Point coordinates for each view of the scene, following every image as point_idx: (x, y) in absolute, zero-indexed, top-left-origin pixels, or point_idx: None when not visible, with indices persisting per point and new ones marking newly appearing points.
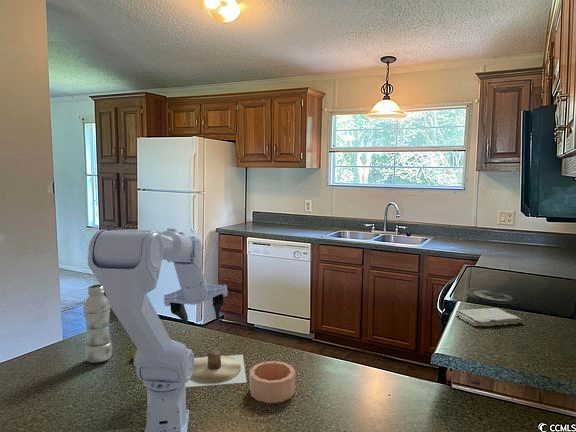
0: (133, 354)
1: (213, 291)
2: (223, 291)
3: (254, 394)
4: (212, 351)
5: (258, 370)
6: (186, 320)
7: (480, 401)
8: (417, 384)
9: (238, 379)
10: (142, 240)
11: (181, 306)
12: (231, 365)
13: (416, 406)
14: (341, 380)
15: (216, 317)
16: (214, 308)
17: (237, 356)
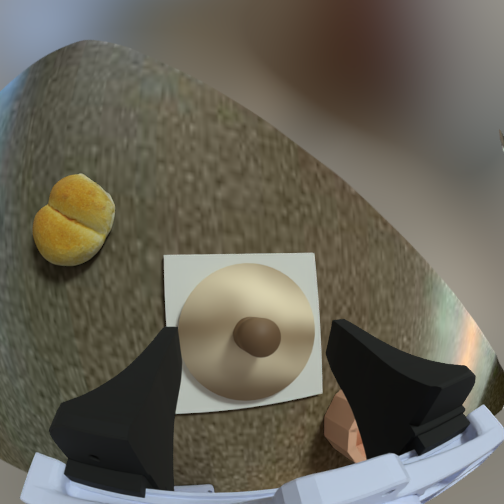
0: (33, 236)
1: (430, 487)
2: (467, 472)
3: (335, 446)
4: (255, 323)
5: None
6: (179, 382)
7: (500, 380)
8: (486, 356)
9: (306, 382)
10: None
11: (166, 488)
12: (293, 329)
13: (472, 404)
14: (444, 358)
15: (332, 365)
16: (362, 438)
17: (302, 261)
